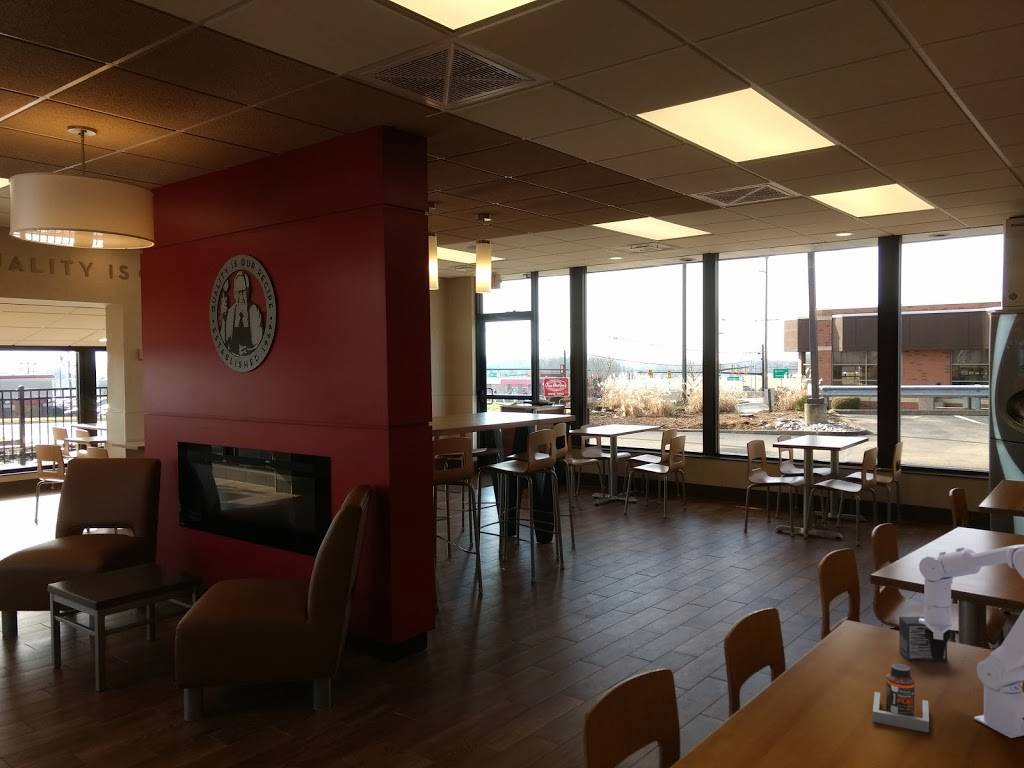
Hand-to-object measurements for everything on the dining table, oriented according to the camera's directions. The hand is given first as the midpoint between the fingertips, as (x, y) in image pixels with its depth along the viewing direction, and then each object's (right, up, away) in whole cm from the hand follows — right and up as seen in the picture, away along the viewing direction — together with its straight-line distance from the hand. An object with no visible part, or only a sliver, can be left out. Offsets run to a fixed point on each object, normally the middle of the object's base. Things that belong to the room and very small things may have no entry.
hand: (937, 658), depth 188 cm
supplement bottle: (-13, -10, -8) cm, 19 cm away
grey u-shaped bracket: (-14, -10, -9) cm, 19 cm away
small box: (+9, -8, +24) cm, 27 cm away
